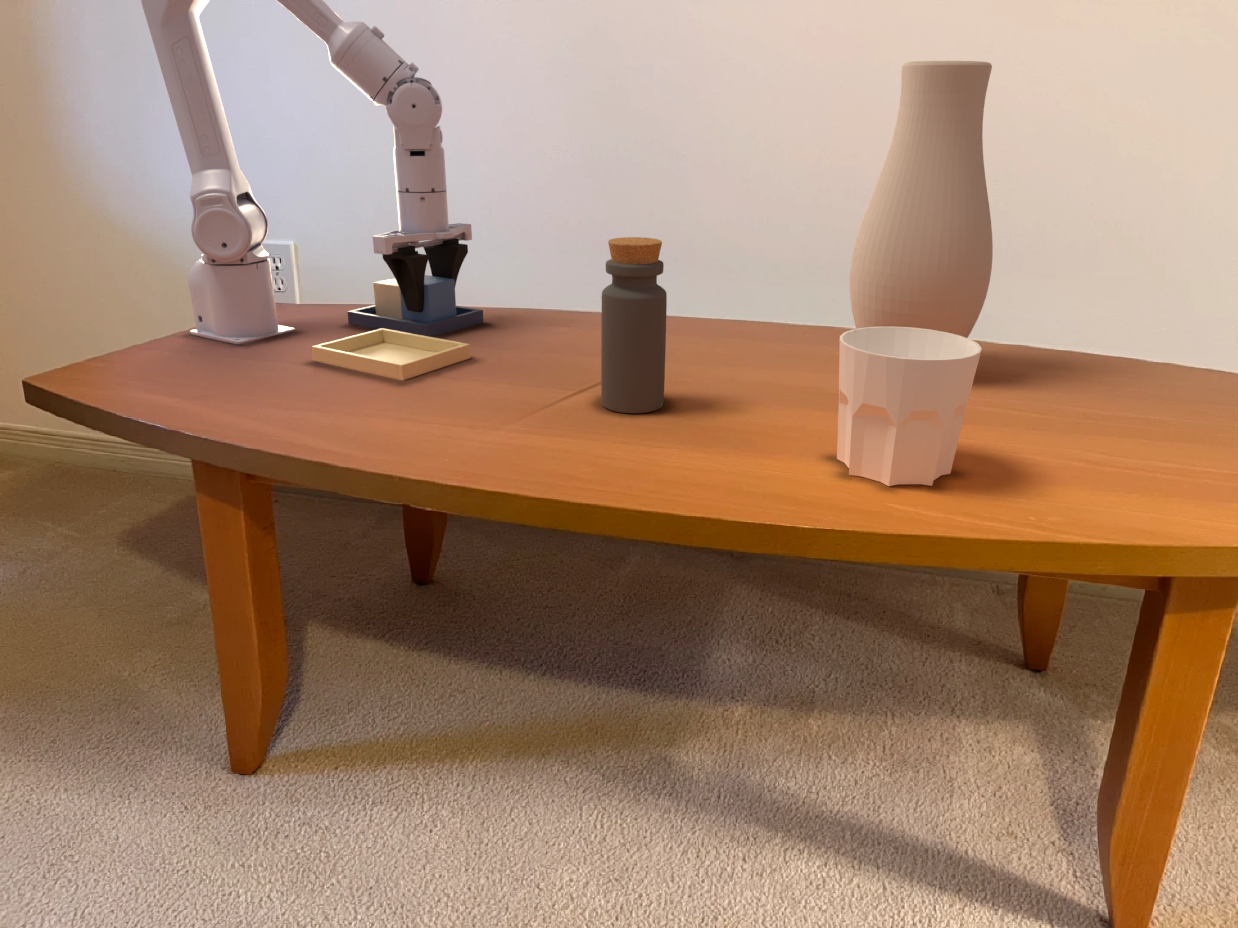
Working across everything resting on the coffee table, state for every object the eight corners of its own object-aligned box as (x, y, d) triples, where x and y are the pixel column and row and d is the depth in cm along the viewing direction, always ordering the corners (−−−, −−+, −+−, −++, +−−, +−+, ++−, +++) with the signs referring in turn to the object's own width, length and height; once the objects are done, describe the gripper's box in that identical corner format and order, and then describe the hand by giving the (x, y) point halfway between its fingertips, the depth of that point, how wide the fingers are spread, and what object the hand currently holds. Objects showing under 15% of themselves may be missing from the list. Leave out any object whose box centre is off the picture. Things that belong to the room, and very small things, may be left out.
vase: (995, 387, 90) (1052, 59, 79) (859, 386, 90) (897, 58, 79) (946, 352, 103) (989, 66, 92) (827, 351, 103) (855, 64, 91)
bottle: (671, 398, 86) (676, 237, 80) (653, 417, 80) (657, 246, 75) (613, 392, 87) (614, 234, 82) (592, 409, 82) (591, 242, 77)
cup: (848, 492, 65) (863, 360, 61) (813, 444, 74) (824, 326, 71) (982, 491, 66) (1005, 359, 62) (931, 443, 75) (948, 326, 71)
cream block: (376, 318, 114) (372, 282, 112) (402, 312, 118) (399, 276, 116) (402, 323, 112) (399, 286, 110) (428, 316, 115) (425, 280, 114)
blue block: (402, 318, 109) (399, 280, 107) (428, 311, 112) (426, 274, 111) (430, 323, 107) (427, 284, 105) (456, 316, 110) (454, 278, 108)
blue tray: (348, 326, 112) (347, 311, 111) (407, 311, 120) (406, 297, 119) (427, 341, 105) (426, 325, 104) (483, 324, 113) (483, 309, 112)
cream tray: (313, 363, 96) (311, 346, 95) (383, 343, 104) (382, 327, 103) (403, 383, 89) (401, 365, 89) (471, 361, 97) (470, 343, 97)
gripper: (401, 197, 96) (411, 322, 101) (488, 188, 108) (493, 300, 113) (355, 193, 100) (366, 314, 105) (444, 185, 111) (451, 294, 116)
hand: (429, 307), depth 109 cm, fingers closed on blue block, 4 cm apart
